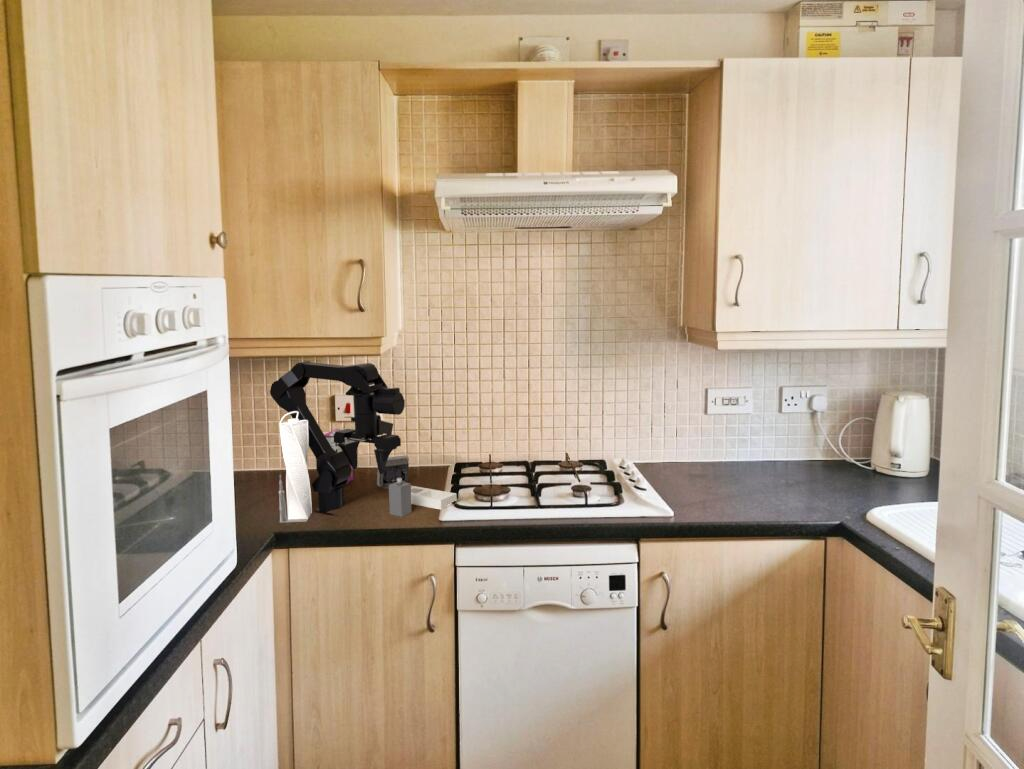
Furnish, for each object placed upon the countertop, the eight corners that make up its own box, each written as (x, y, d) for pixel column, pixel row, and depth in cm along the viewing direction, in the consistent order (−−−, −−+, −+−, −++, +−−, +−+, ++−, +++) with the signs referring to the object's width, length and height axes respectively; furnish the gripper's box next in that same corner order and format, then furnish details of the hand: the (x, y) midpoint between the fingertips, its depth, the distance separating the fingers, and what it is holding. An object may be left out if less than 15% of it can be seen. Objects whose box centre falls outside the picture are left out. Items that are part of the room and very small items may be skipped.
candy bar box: (338, 479, 233) (336, 427, 230) (354, 479, 232) (351, 428, 229) (323, 489, 222) (320, 435, 219) (339, 490, 221) (336, 436, 218)
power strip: (441, 513, 198) (440, 498, 198) (392, 503, 207) (391, 489, 207) (456, 505, 204) (456, 491, 204) (408, 496, 213) (407, 482, 213)
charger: (401, 517, 193) (400, 481, 192) (389, 514, 195) (388, 479, 194) (411, 512, 197) (410, 477, 195) (399, 510, 199) (398, 475, 197)
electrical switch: (407, 482, 228) (406, 453, 226) (411, 488, 224) (411, 458, 222) (376, 486, 225) (376, 456, 222) (380, 492, 220) (380, 462, 218)
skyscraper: (286, 513, 202) (279, 411, 197) (317, 511, 202) (310, 409, 198) (279, 523, 193) (271, 417, 189) (311, 522, 194) (304, 416, 190)
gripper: (413, 410, 195) (415, 468, 198) (360, 404, 205) (363, 460, 208) (384, 417, 186) (387, 478, 188) (330, 411, 196) (333, 469, 198)
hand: (368, 471), depth 196 cm, fingers open, 9 cm apart
